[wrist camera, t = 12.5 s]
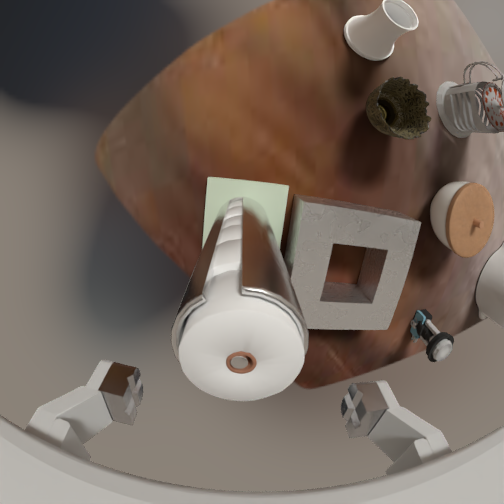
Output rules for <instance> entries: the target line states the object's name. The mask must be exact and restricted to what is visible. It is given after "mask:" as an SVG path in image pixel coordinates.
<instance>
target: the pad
mask: <svg viewBox="0 0 504 504" xmlns="http://www.w3.org/2000/svg"><path fill="white" fill-rule="evenodd" d="M288 189H289V186H288V185H281V184H273V183H265V182H257V181H248V180H238V179H228V178H217V177H208V180H207V191H206V203H205V216H204V230H203V246H202V249H203V247H204V244H205V242H206V239H207V237H208V235H209V232H210V230H211V228H212V225H213V223H214V221H215V218H216V216H217V214H218V212H219V209H220V208H221V207H222V206H223V204H224V203H226V202H227V201H229V200H230V199H233V198H236V197H247V198H251V199H253V200H255V201H257V202H258V203H259V204H260V205H262V207H263V208H264V210H265V211H266V214H267V217H268V219H269V222H270V225H271V227H272V230H273V233H274V235H275V238H276V241H277V244H278V246H279V249H280V244H281V237H282V230H283V224H284V217H285V210H286V203H287V196H288Z"/></svg>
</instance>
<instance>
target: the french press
mask: <svg viewBox="0 0 504 504" xmlns="http://www.w3.org/2000/svg"><path fill="white" fill-rule="evenodd" d="M482 63H485V64H488V65H491V66H492V67H494V68H495V69H496V70H497V71H498V72H499V73H500V74H501V72H500V71H499V70H498V69H497V68H496V67H495V66H494V65H492V64H490V63H488V62H484V61H481V62H474V63H472V64H469V65H468V66H467V67H466V68H465V70H464V75H463V77H464V84H459V85H458V84H456V83H454V82H447V81H446V82H445V83H443V84H442V85H440V87H439V89H438V92H437V108H438V112H439V116H440V118H441V120H442V122H443V124H444V126H445V127H446V128H447V129H448V131H449V132H450V133H451V134H452V135H454V136H456V137H458V138H466V137H468V136H469V135H470V134H471V133H472V132H477V133H499V132H504V80H503V75H502V74H501V75H502V77H501V78H498V76H497V74H496V73H495V72H494V71H493V70H492V69H491V68H490V67H488V66H487V65H485V64H482ZM477 64H480V65H484V66H486V67H487V68H489V69H490V70H491V71H492V72H493V73H494V74H495V76H496V79H493V81H498V80H503V81H502V86H501V89H500V88H499V87H498V86H497V85H496V84H494V83H491V82H477V83H471V70H472V68H473V67H474V66H475V65H477ZM471 65H472V67H471V68H470V72H469V80H470V81H469V83H465V72H466V70H467V68H468V67H470V66H471ZM470 83H471V84H470ZM483 87H484V88H483ZM478 88H481V89H482V90H483V92H482V91H481V90H480V89H478ZM475 90H477V91H479V92H480V93H481V94H482V97H481V96H480V95H479V94H478V93H477V92H476V91H475ZM475 94H476V95H477V96H478V97H479V99H480V102H481V112H480V116H479V114H478V111H479V103H478V100H477V98H476V97H475ZM483 110H485V118H484V123H482V117H483ZM487 117H488V120H489V125H488V126H486V122H487ZM491 124H492V126H491Z"/></svg>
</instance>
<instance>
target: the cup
mask: <svg viewBox="0 0 504 504" xmlns="http://www.w3.org/2000/svg"><path fill="white" fill-rule="evenodd" d="M417 88H418V85H416V84H410V81H409V79H403V77H398V78H395V79H394V77H392V78H390V79H389V80H387V81H385V82H384V83H383V84H381V85H380V86H379V87H377V88H376V89H375V90H374V91H373V92H372V93H371V94H370V96H369V97H368V100H367V103H366V112H367V116H368V119H369V121H370V122H371V124H372V125H373V126H374V127H375V128H376V129H377V130H378V131H380V132H381V133H384V134H386V135H389V136H393V137H399V138H404V139H414V137H416V138H417V137H421V135H420V134H422V133H424V132H426V131H427V130H428V129H429V124H428V122H430V121H431V117H429V116H426V113H427V110H426V107H427V106H428V105H429V103H428V102H427V101H425V100H426V94H425V93H424V92H422V91H419V90H418V89H417ZM381 112H382V113H381Z"/></svg>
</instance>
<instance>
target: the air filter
mask: <svg viewBox="0 0 504 504" xmlns="http://www.w3.org/2000/svg"><path fill="white" fill-rule="evenodd" d="M308 339H309V332H308V329H307V325H306V322H305V319H304V316H303V313H302V310H301V308H300V305H299V302H298V299H297V296H296V293H295V290H294V288H293V285H292V282H291V279H290V276H289V274H288V271H287V268H286V265H285V263H284V260H283V257H282V254H281V252H280V249H279V246H278V244H277V241H276V238H275V235H274V233H273V230H272V227H271V225H270V222H269V219H268V217H267V214H266V211H265V210H264V208H263V207H262V205H260V204H259V203H258V202H257V201H255V200H253V199H251V198H247V197H236V198H233V199H230V200H229V201H227V202H226V203H224V204H223V206H222V207H221V208H220V209H219V212H218V214H217V216H216V218H215V221H214V223H213V225H212V228H211V230H210V232H209V235H208V237H207V239H206V242H205V244H204V247H203V249H202V251H201V254H200V256H199V259H198V261H197V264H196V266H195V268H194V271H193V273H192V276H191V278H190V281H189V283H188V286H187V289H186V291H185V294H184V296H183V299H182V301H181V304H180V307H179V309H178V312H177V314H176V317H175V320H174V323H173V325H172V328H171V345H172V348H173V351H174V355H175V357H176V359H177V360H178V362H179V363H180V365H181V368H182V371H183V372H184V374H185V375H186V377H187V378H188V379H189V381H190V382H192V383H193V384H194V385H195V386H196V387H198V388H199V389H200V390H202V391H204V392H206V393H208V394H210V395H212V396H215V397H218V398H222V399H225V400H233V401H253V400H258V399H262V398H265V397H269V396H271V395H274V394H276V393H279V392H281V391H282V390H284V389H285V388H286V387H287V386H289V385H290V384H291V383H292V382H293V381H294V379H295V378H296V377H297V375H298V374H299V373H300V370H301V368H302V366H303V364H304V357H305V354H306V352H307V349H308Z"/></svg>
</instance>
